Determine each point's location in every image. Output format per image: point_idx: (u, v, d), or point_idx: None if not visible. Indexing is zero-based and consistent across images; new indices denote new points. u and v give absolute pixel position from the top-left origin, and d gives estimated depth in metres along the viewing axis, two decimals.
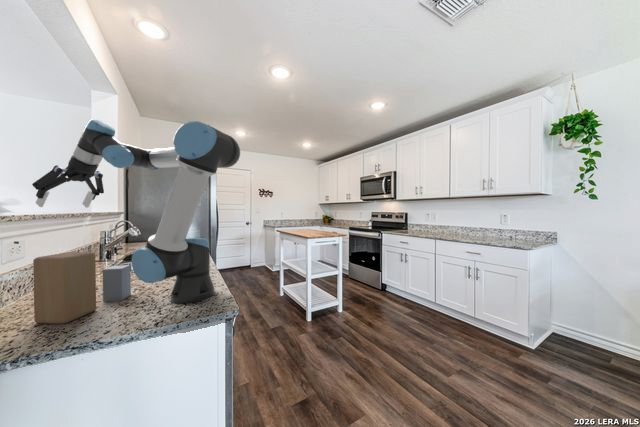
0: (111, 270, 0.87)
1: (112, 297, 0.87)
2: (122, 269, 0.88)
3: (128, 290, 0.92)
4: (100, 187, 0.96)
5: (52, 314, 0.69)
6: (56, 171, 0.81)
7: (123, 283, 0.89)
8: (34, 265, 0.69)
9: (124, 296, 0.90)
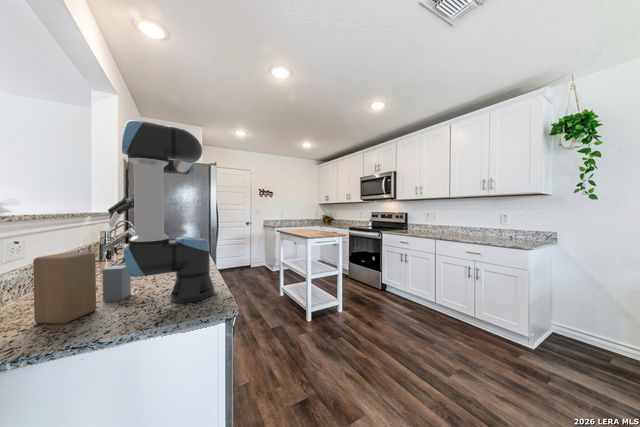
0: (111, 270, 0.87)
1: (112, 297, 0.87)
2: (122, 269, 0.88)
3: (128, 290, 0.92)
4: None
5: (52, 314, 0.69)
6: None
7: (123, 283, 0.89)
8: (34, 265, 0.69)
9: (124, 296, 0.90)
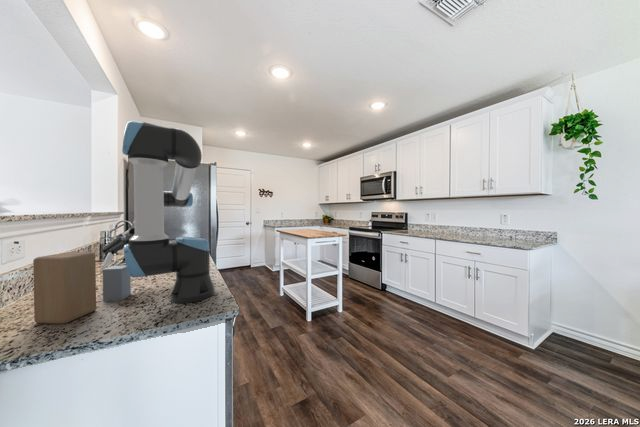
0: (111, 270, 0.87)
1: (112, 297, 0.87)
2: (122, 269, 0.88)
3: (128, 290, 0.92)
4: None
5: (52, 314, 0.69)
6: None
7: (123, 283, 0.89)
8: (34, 265, 0.69)
9: (124, 296, 0.90)
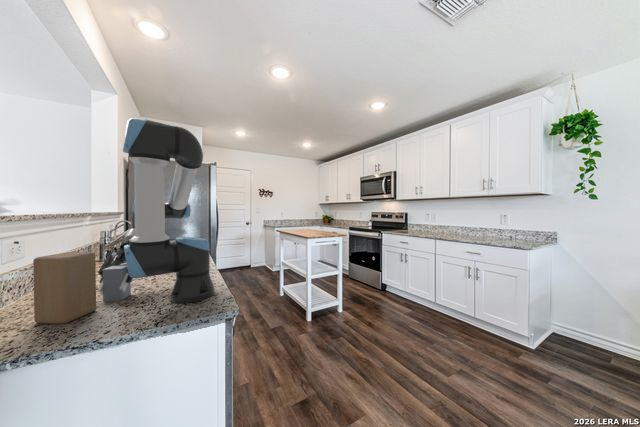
0: (111, 270, 0.87)
1: (112, 296, 0.87)
2: (122, 269, 0.88)
3: (128, 290, 0.92)
4: None
5: (52, 314, 0.69)
6: (108, 255, 0.95)
7: None
8: (34, 265, 0.69)
9: (124, 296, 0.90)
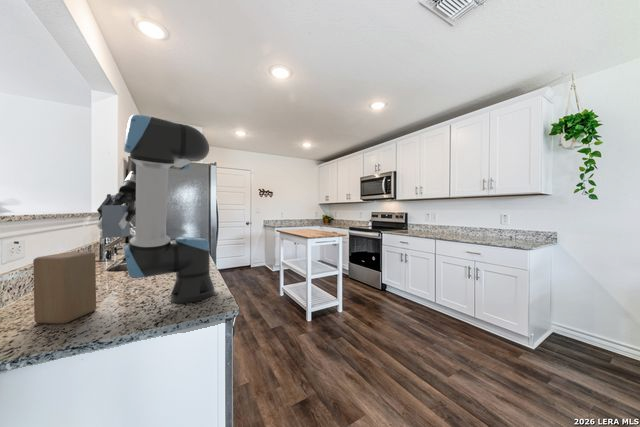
0: (110, 206, 0.87)
1: (112, 233, 0.87)
2: (121, 206, 0.88)
3: (127, 230, 0.92)
4: None
5: (52, 314, 0.69)
6: (107, 197, 0.95)
7: None
8: (34, 265, 0.69)
9: (123, 234, 0.89)
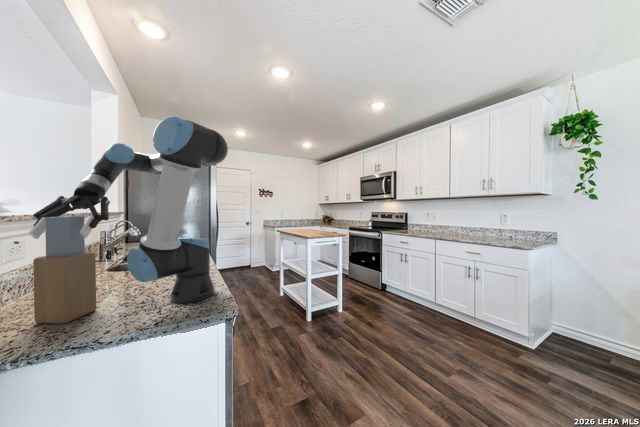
0: (56, 218, 0.71)
1: (58, 251, 0.71)
2: (71, 218, 0.72)
3: (81, 246, 0.76)
4: (101, 209, 0.79)
5: (52, 314, 0.69)
6: None
7: (72, 235, 0.72)
8: (34, 265, 0.69)
9: (74, 252, 0.73)
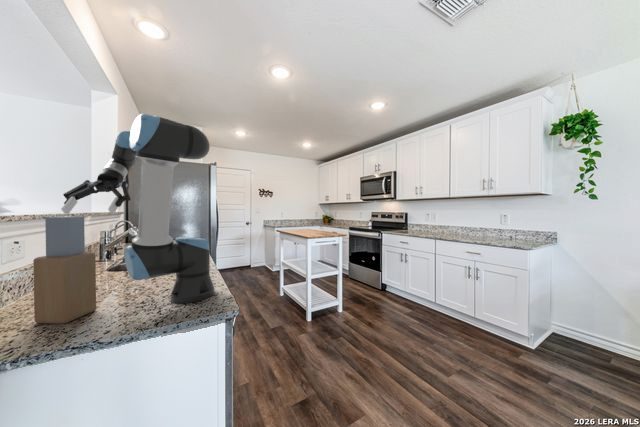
0: (56, 218, 0.71)
1: (58, 251, 0.71)
2: (71, 218, 0.72)
3: (81, 246, 0.76)
4: (124, 191, 0.91)
5: (52, 314, 0.69)
6: None
7: (72, 235, 0.72)
8: (34, 265, 0.69)
9: (74, 252, 0.73)
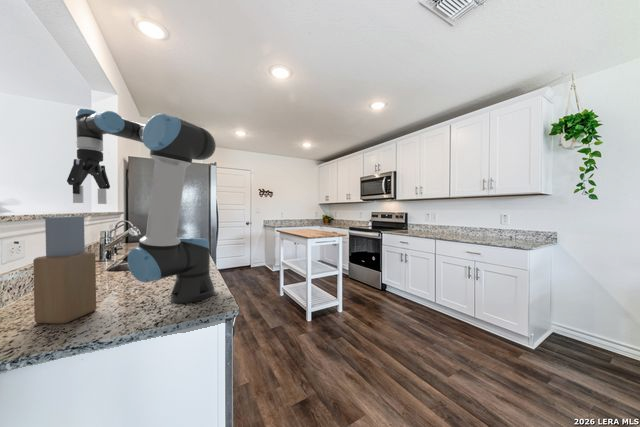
0: (56, 218, 0.71)
1: (58, 251, 0.71)
2: (71, 218, 0.72)
3: (81, 246, 0.76)
4: (106, 180, 1.01)
5: (52, 314, 0.69)
6: (80, 162, 0.87)
7: (72, 235, 0.73)
8: (34, 265, 0.69)
9: (74, 252, 0.73)
